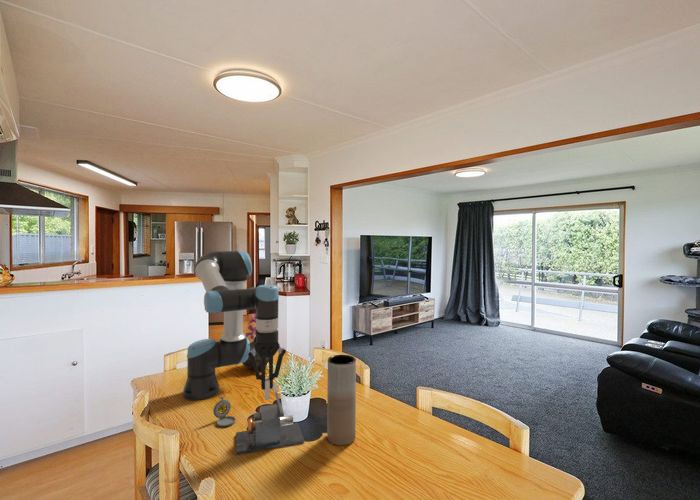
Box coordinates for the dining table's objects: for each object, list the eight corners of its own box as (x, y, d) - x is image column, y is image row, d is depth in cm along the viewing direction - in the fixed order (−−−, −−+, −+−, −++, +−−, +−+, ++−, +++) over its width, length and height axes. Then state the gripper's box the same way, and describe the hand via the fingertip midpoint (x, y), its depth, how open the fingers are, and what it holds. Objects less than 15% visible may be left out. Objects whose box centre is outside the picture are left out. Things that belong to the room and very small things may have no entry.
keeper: (278, 406, 122) (271, 383, 122) (281, 405, 123) (275, 382, 122) (280, 417, 115) (274, 393, 114) (284, 415, 115) (277, 391, 114)
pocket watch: (229, 428, 124) (229, 401, 124) (208, 426, 126) (208, 399, 126) (240, 417, 132) (240, 392, 132) (221, 415, 134) (221, 390, 134)
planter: (359, 433, 122) (359, 356, 121) (350, 448, 112) (350, 365, 112) (333, 427, 125) (333, 353, 125) (322, 442, 116) (323, 361, 115)
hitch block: (236, 435, 120) (236, 408, 120) (298, 425, 127) (298, 399, 127) (236, 455, 108) (236, 425, 108) (304, 442, 115) (304, 415, 115)
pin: (247, 430, 118) (247, 415, 118) (291, 423, 123) (291, 409, 122) (248, 437, 113) (248, 423, 113) (293, 430, 118) (293, 416, 118)
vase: (235, 372, 179) (235, 315, 178) (250, 361, 196) (250, 309, 195) (265, 374, 176) (265, 317, 176) (277, 363, 193) (277, 310, 193)
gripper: (247, 334, 111) (247, 405, 111) (287, 331, 115) (287, 400, 116) (247, 328, 118) (247, 395, 119) (284, 326, 122) (284, 391, 123)
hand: (267, 397), depth 117 cm, fingers closed
